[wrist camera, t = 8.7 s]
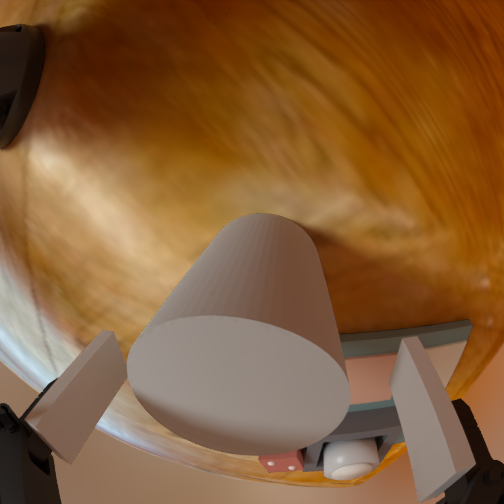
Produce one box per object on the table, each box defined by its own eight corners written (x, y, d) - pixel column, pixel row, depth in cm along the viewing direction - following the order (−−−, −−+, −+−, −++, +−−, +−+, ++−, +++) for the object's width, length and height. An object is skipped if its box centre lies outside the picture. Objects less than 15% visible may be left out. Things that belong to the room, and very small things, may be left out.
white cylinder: (186, 256, 20) (93, 365, 9) (274, 189, 17) (253, 259, 6) (252, 332, 22) (224, 464, 11) (340, 281, 19) (382, 418, 8)
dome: (320, 454, 25) (320, 484, 21) (326, 432, 23) (328, 466, 19) (367, 449, 24) (371, 478, 20) (380, 425, 22) (387, 458, 18)
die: (272, 446, 27) (269, 474, 23) (262, 431, 26) (258, 462, 22) (304, 442, 26) (303, 471, 22) (297, 427, 25) (296, 459, 21)
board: (261, 447, 29) (257, 470, 25) (248, 335, 22) (241, 367, 18) (411, 434, 26) (417, 454, 22) (468, 319, 19) (486, 342, 15)
